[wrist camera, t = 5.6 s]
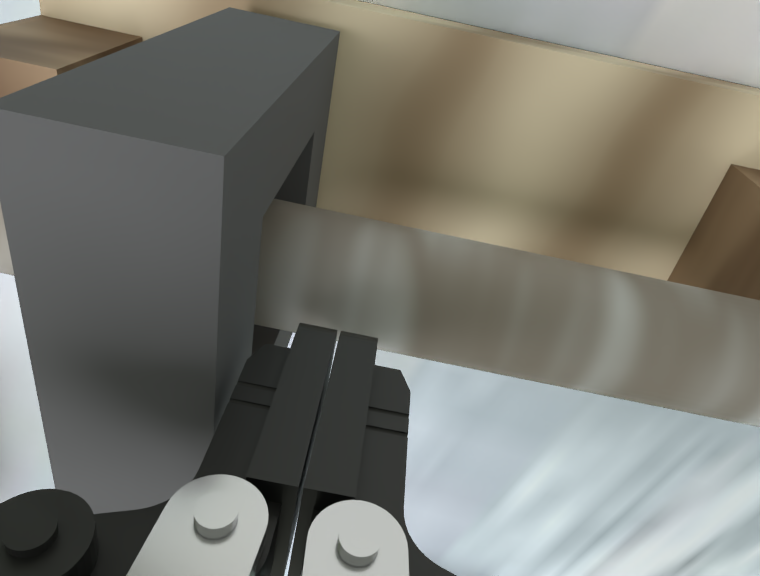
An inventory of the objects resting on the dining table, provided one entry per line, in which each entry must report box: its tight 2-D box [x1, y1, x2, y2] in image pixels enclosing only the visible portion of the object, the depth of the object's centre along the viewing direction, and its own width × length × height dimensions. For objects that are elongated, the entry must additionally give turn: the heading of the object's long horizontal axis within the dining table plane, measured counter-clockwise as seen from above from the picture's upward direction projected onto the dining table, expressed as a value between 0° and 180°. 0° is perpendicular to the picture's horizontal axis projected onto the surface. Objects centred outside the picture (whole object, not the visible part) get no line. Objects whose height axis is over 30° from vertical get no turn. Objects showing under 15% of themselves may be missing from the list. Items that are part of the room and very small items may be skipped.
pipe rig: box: [0, 0, 760, 427], centre depth 16 cm, size 24×10×9 cm, turn 79°
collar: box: [0, 7, 340, 514], centre depth 14 cm, size 3×9×10 cm, turn 169°
